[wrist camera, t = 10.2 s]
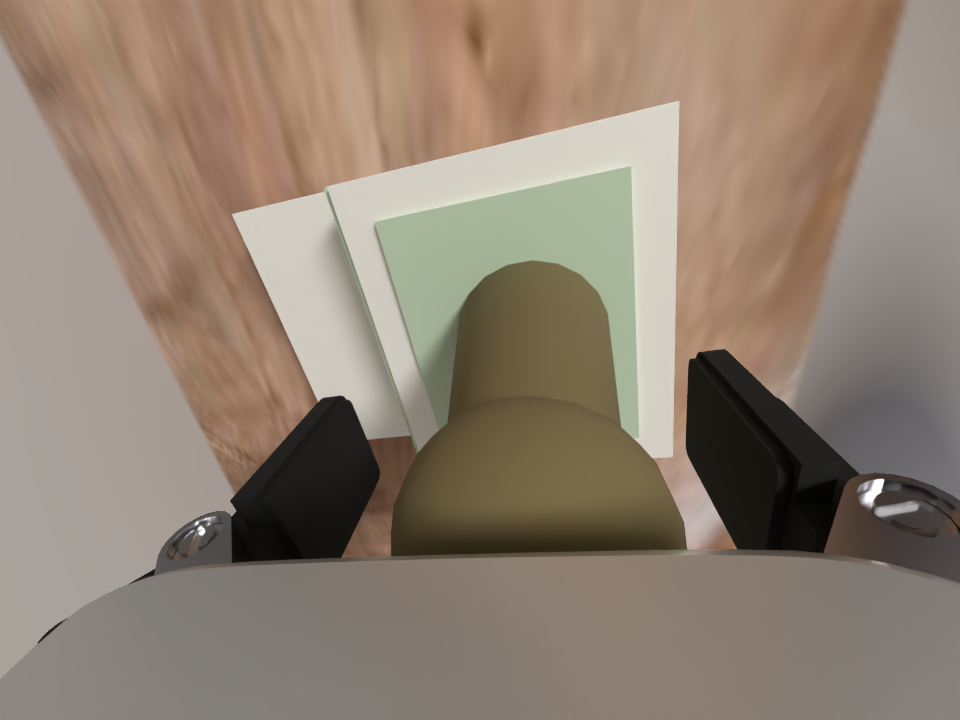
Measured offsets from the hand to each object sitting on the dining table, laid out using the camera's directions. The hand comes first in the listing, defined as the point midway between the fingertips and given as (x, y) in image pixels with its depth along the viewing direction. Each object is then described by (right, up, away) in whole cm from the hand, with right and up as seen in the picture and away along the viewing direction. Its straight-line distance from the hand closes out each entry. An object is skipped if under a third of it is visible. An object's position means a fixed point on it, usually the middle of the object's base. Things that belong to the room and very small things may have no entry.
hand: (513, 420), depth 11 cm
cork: (+1, +3, +5) cm, 6 cm away
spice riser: (-1, +5, +12) cm, 13 cm away
